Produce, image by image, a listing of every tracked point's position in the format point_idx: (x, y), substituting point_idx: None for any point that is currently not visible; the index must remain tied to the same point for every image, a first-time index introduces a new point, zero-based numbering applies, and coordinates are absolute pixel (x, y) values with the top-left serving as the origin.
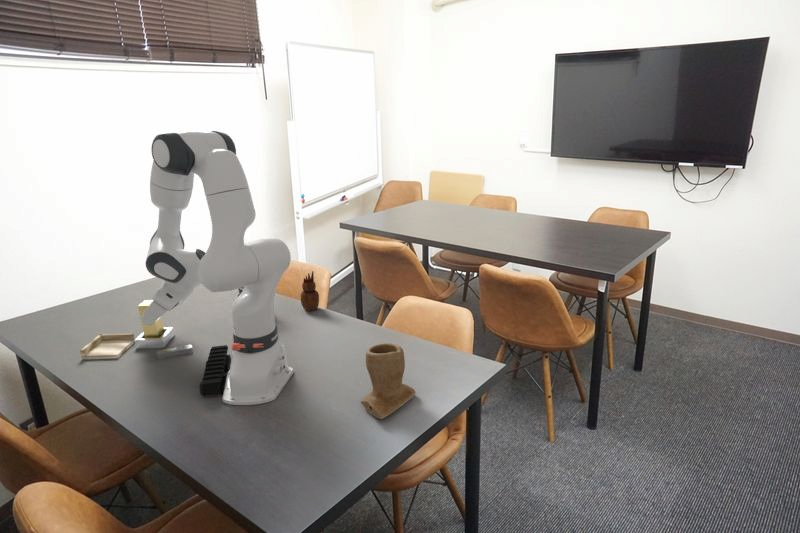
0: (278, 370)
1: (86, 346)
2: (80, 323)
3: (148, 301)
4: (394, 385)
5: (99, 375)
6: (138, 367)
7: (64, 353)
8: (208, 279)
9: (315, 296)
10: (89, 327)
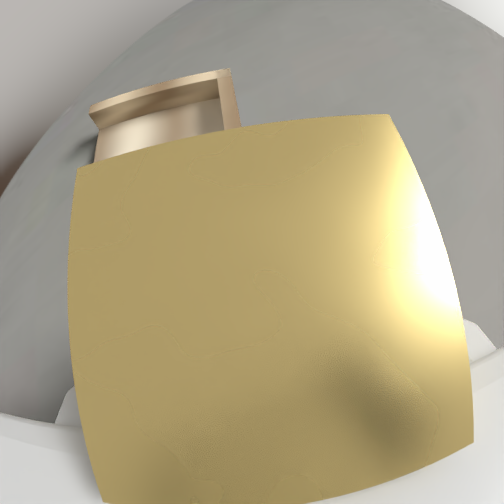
0: None
1: (117, 100)
2: (348, 9)
3: (365, 243)
4: None
5: (6, 267)
6: (39, 385)
7: (159, 61)
8: None
9: None
10: (336, 26)
